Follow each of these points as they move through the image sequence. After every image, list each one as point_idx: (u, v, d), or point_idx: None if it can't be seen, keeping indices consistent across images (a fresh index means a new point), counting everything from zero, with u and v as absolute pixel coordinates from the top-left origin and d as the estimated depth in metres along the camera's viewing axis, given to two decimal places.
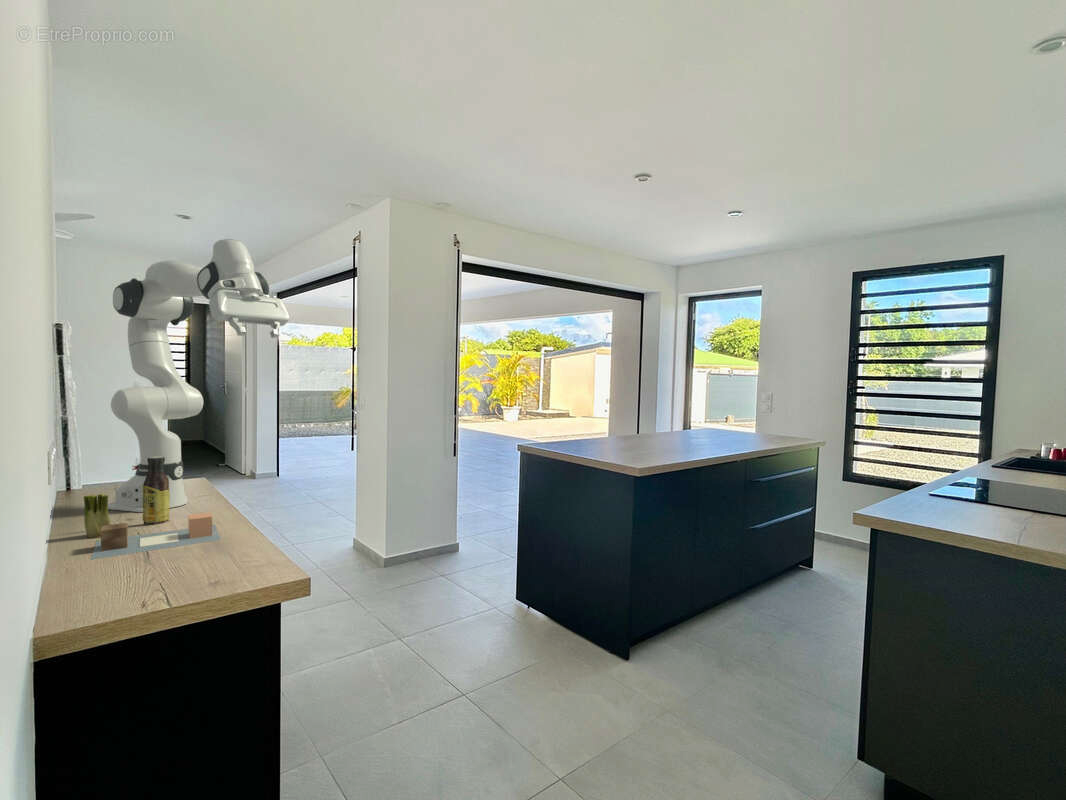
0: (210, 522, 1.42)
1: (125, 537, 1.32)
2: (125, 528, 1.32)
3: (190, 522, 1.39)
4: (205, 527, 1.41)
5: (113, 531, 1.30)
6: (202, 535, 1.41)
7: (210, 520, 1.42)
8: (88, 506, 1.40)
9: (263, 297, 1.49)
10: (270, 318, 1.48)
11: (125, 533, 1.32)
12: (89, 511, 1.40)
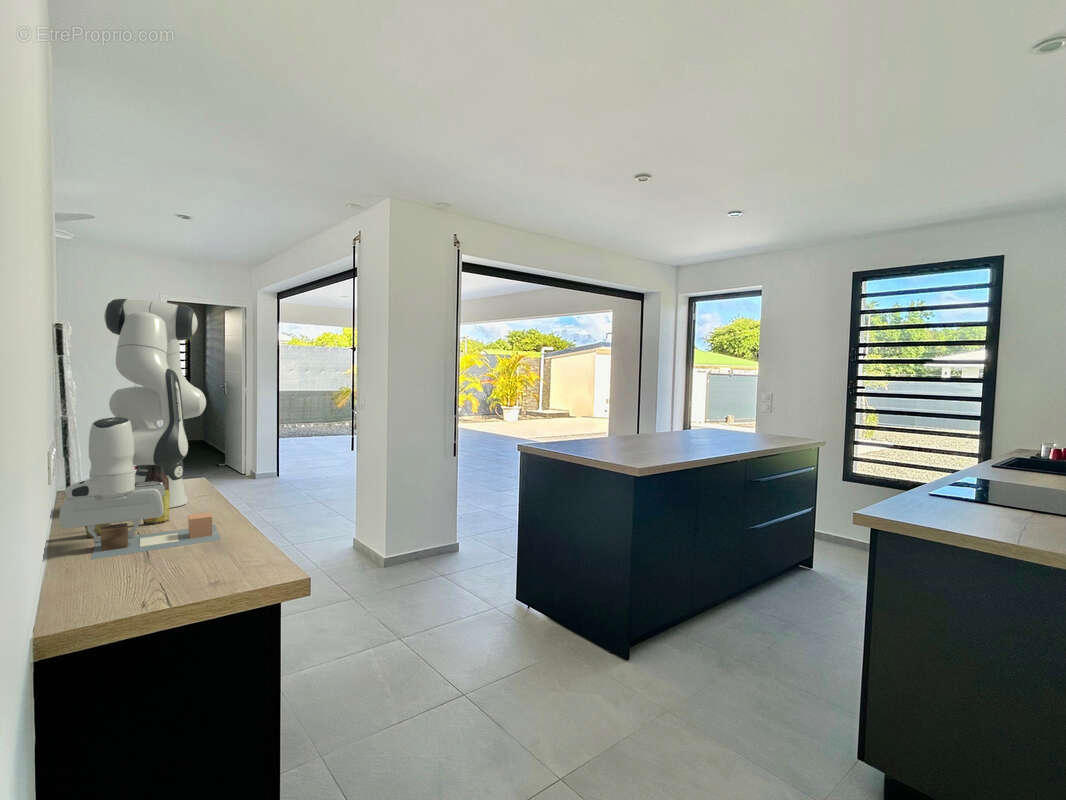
0: (210, 522, 1.42)
1: (125, 537, 1.32)
2: (125, 528, 1.32)
3: (190, 522, 1.39)
4: (205, 527, 1.41)
5: (113, 531, 1.30)
6: (202, 535, 1.41)
7: (210, 520, 1.42)
8: None
9: (132, 493, 1.33)
10: (133, 519, 1.33)
11: (125, 533, 1.32)
12: None
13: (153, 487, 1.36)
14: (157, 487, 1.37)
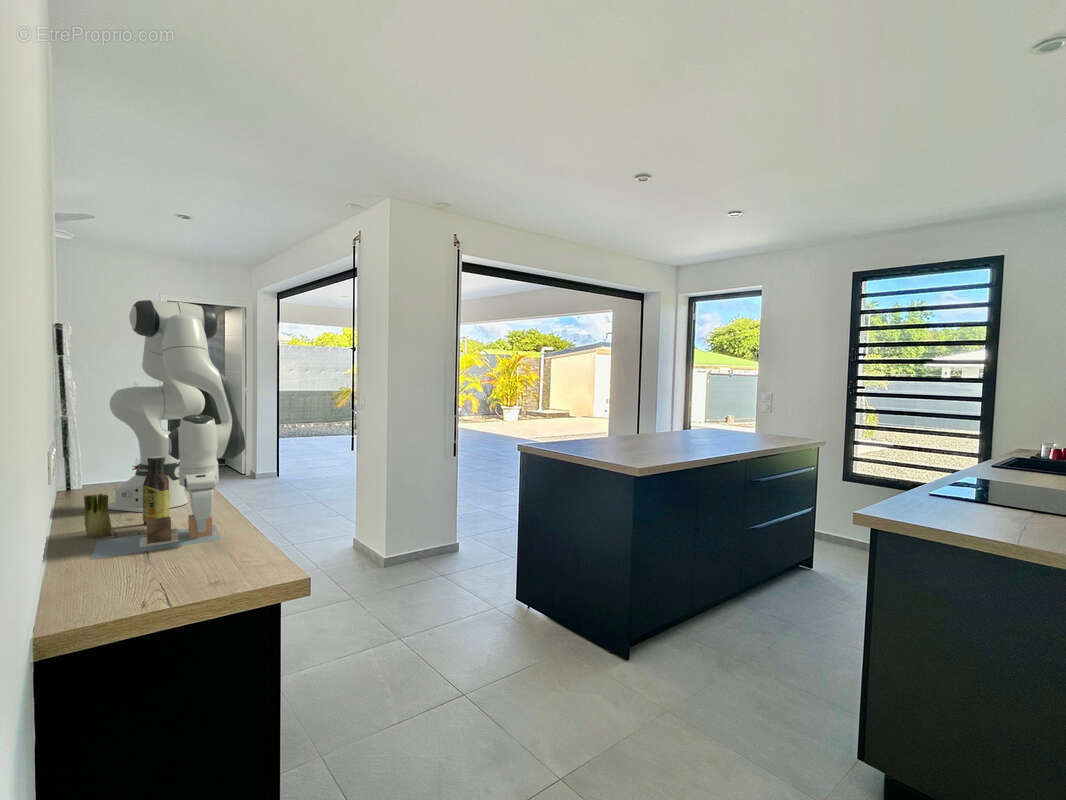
0: (210, 522, 1.42)
1: (169, 530, 1.37)
2: (169, 522, 1.37)
3: (190, 522, 1.39)
4: (205, 527, 1.41)
5: (158, 525, 1.35)
6: (202, 535, 1.41)
7: (210, 520, 1.42)
8: (88, 506, 1.40)
9: None
10: None
11: (169, 526, 1.37)
12: (89, 511, 1.40)
13: None
14: None
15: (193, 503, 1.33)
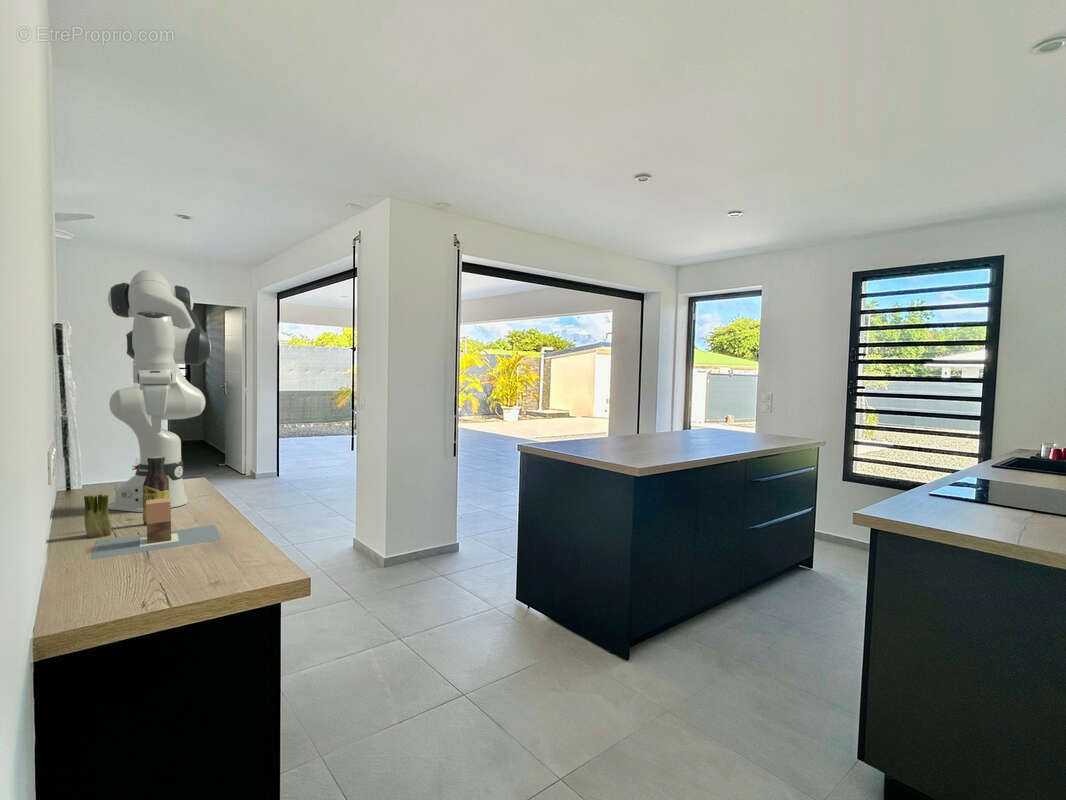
0: (168, 507, 1.36)
1: (169, 530, 1.37)
2: (169, 522, 1.37)
3: (147, 507, 1.34)
4: (163, 512, 1.36)
5: (158, 525, 1.35)
6: (159, 521, 1.36)
7: (168, 505, 1.36)
8: (88, 506, 1.40)
9: None
10: None
11: (169, 526, 1.37)
12: (89, 511, 1.40)
13: None
14: None
15: (145, 397, 1.27)
